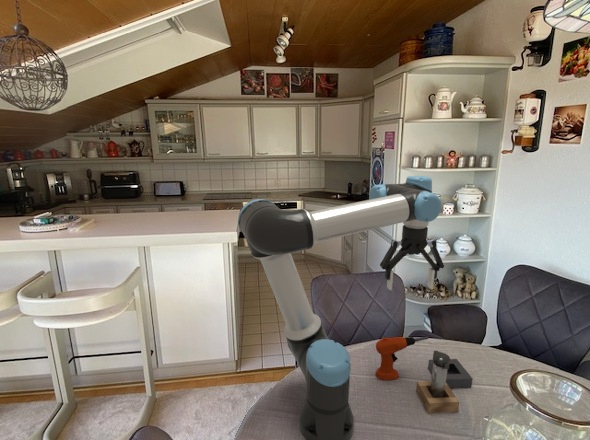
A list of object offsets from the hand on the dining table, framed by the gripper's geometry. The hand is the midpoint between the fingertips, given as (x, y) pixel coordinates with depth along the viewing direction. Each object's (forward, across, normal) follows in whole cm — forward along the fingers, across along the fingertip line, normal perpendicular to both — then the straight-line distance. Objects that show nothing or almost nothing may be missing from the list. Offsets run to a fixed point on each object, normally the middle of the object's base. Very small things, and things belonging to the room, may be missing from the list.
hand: (409, 288), depth 111 cm
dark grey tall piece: (+30, -5, +15) cm, 34 cm away
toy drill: (+31, +2, +2) cm, 31 cm away
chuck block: (+31, -14, +5) cm, 34 cm away
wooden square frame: (+31, -5, +15) cm, 35 cm away
